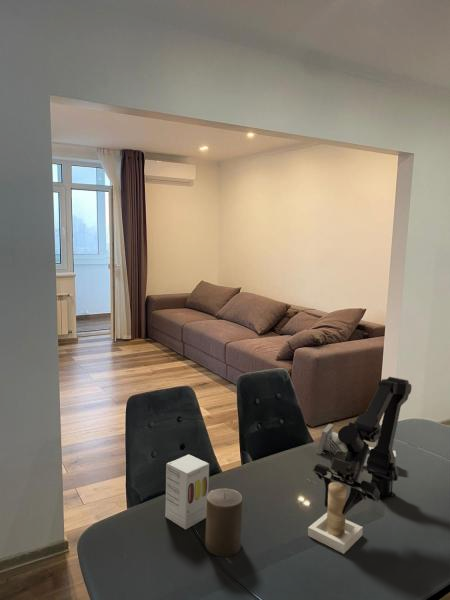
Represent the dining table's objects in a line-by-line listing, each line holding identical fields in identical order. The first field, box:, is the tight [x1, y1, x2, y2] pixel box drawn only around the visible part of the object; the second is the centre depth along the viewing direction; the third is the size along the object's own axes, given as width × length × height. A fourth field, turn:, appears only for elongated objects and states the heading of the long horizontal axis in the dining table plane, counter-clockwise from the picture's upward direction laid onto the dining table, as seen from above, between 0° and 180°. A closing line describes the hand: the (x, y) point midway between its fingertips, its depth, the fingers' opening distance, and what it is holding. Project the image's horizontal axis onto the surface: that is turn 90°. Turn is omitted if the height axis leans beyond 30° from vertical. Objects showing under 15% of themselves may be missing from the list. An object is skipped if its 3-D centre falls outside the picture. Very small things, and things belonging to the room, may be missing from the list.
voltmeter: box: [316, 423, 343, 465], centre depth 174 cm, size 27×11×10 cm, turn 6°
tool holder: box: [307, 512, 364, 555], centre depth 126 cm, size 11×11×2 cm
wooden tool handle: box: [326, 481, 348, 536], centre depth 126 cm, size 5×5×13 cm
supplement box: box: [164, 454, 210, 530], centre depth 133 cm, size 10×9×17 cm
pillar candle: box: [204, 488, 243, 557], centre depth 121 cm, size 10×10×15 cm
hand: (334, 510), depth 125 cm, fingers closed on wooden tool handle, 5 cm apart
